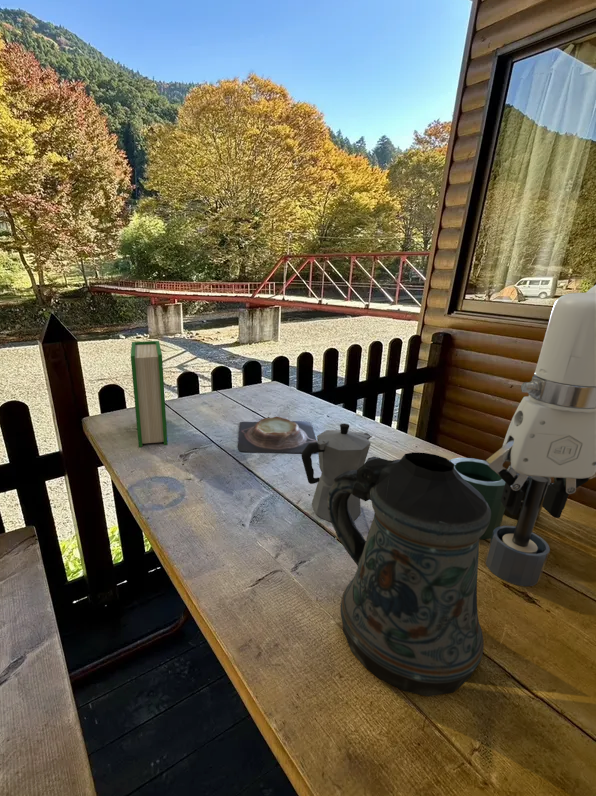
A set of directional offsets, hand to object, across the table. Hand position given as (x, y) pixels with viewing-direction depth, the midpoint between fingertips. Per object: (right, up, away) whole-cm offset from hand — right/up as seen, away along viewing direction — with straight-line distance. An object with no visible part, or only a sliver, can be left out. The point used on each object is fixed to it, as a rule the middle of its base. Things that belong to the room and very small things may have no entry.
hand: (529, 509), depth 60 cm
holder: (0, -11, +4) cm, 11 cm away
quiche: (-30, +8, +52) cm, 61 cm away
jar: (0, -6, +15) cm, 17 cm away
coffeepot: (-24, -5, +19) cm, 31 cm away
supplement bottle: (+11, -5, +18) cm, 22 cm away
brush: (0, -10, +4) cm, 11 cm away
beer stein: (-23, -15, -6) cm, 28 cm away
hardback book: (-65, +8, +55) cm, 86 cm away
